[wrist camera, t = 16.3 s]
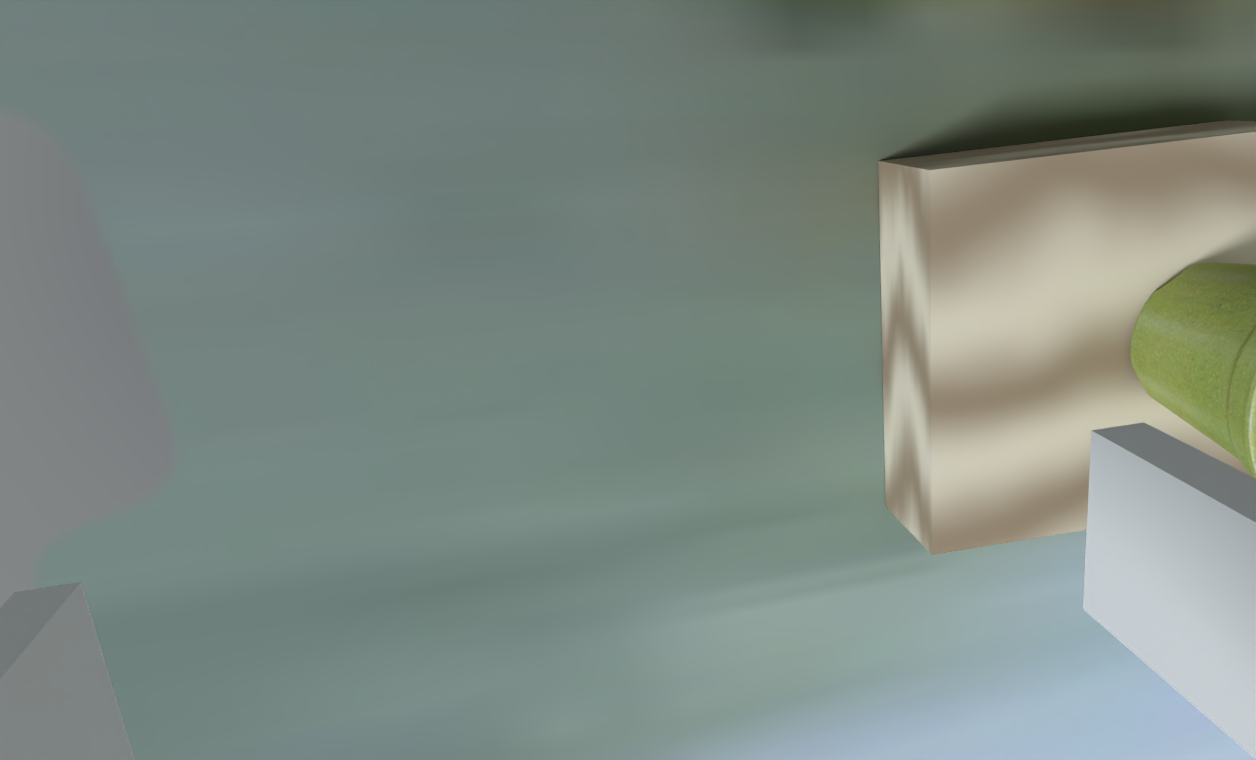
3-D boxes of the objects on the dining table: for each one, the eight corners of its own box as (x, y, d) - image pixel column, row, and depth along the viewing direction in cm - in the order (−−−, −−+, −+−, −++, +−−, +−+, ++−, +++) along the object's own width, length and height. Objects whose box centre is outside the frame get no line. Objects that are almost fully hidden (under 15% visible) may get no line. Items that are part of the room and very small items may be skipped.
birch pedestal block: (878, 160, 41) (929, 170, 36) (1227, 120, 42) (1320, 123, 38) (885, 506, 46) (932, 554, 41) (1199, 457, 47) (1279, 498, 42)
